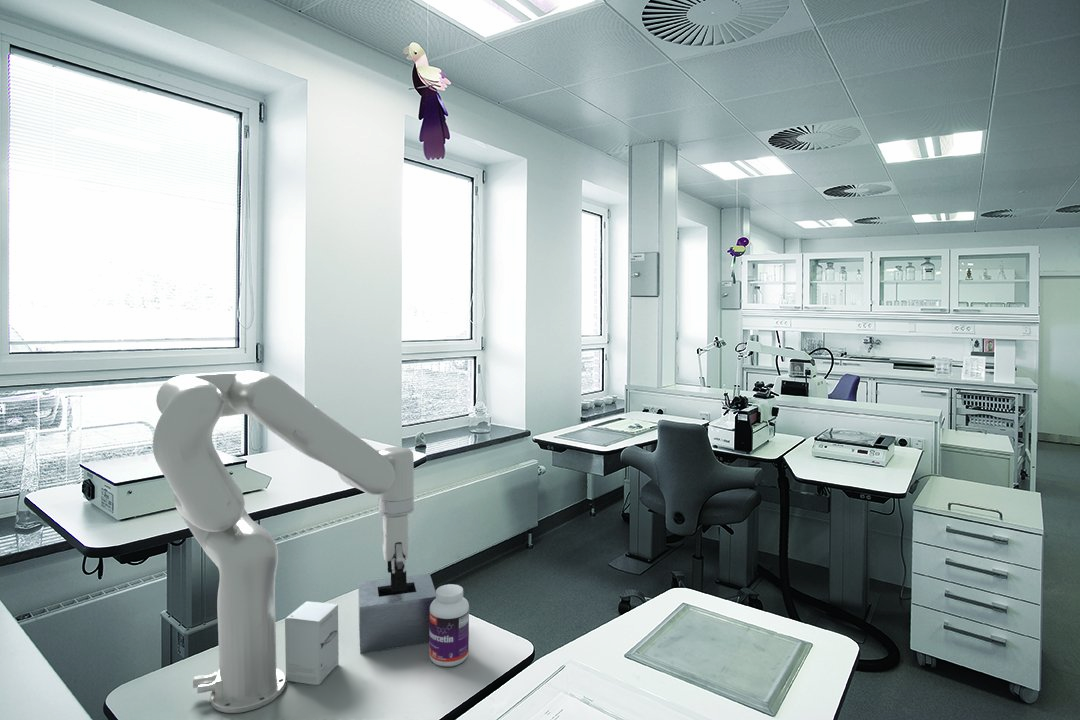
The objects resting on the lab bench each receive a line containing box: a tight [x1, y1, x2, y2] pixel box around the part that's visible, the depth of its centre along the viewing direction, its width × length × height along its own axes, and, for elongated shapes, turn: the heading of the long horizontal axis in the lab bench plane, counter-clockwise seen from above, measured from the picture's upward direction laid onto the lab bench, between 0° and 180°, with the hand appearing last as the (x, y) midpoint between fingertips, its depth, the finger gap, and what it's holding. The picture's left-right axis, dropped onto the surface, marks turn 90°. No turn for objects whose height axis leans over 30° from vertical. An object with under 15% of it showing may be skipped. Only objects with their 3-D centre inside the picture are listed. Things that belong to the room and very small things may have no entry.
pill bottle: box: [428, 583, 470, 667], centre depth 121 cm, size 8×8×14 cm
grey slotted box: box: [357, 573, 436, 654], centre depth 131 cm, size 16×12×10 cm
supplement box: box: [284, 600, 340, 686], centre depth 116 cm, size 7×7×13 cm
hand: (396, 580), depth 130 cm, fingers open, 9 cm apart
